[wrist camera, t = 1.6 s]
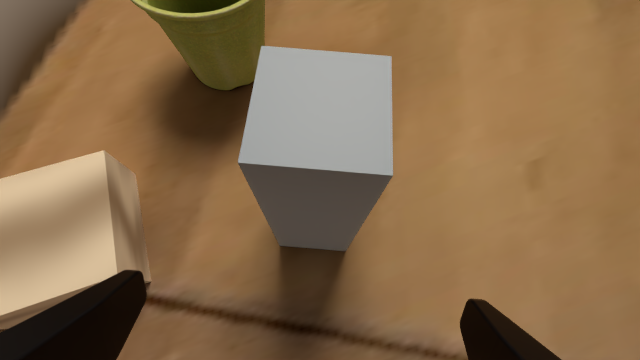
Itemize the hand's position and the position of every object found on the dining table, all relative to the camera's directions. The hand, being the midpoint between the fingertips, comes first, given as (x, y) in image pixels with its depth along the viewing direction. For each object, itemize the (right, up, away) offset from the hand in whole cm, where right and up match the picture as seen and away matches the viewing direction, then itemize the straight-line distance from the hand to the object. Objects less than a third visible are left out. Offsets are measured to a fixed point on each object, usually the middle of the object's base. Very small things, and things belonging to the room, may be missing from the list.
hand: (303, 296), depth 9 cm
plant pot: (-7, +13, +19) cm, 24 cm away
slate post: (0, +1, +13) cm, 13 cm away
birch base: (-16, -1, +12) cm, 20 cm away
